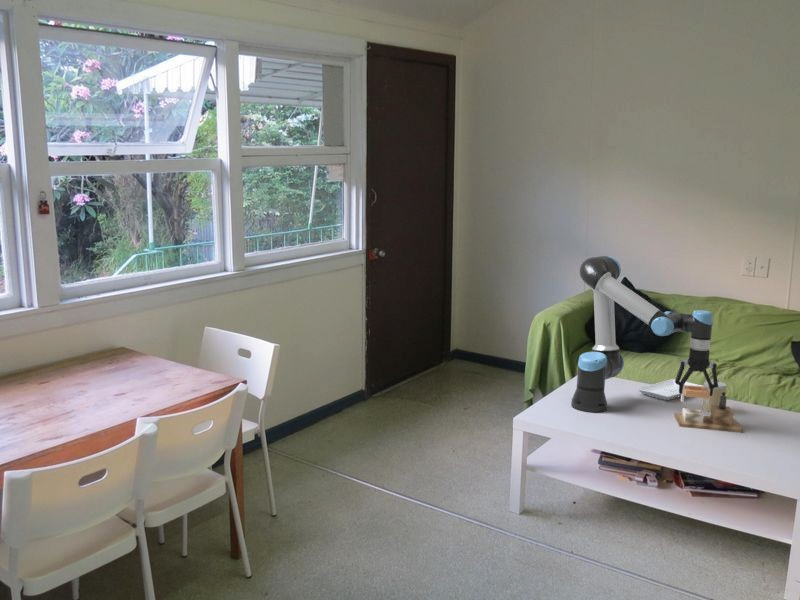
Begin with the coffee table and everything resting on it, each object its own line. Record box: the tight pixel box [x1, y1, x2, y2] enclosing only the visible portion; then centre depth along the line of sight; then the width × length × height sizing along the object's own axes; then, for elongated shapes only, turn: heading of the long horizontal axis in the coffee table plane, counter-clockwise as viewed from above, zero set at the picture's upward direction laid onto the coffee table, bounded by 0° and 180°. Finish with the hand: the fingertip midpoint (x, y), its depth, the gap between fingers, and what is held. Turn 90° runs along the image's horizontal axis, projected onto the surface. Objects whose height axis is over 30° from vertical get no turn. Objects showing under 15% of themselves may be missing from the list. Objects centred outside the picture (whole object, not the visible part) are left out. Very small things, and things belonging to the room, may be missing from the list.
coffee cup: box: [702, 380, 727, 413], centre depth 319 cm, size 9×9×12 cm
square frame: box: [684, 385, 710, 399], centre depth 300 cm, size 9×9×2 cm
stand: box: [673, 395, 744, 433], centre depth 300 cm, size 24×14×12 cm, turn 78°
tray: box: [636, 378, 704, 401], centre depth 343 cm, size 17×32×4 cm, turn 129°
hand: (694, 402), depth 301 cm, fingers closed on square frame, 9 cm apart
